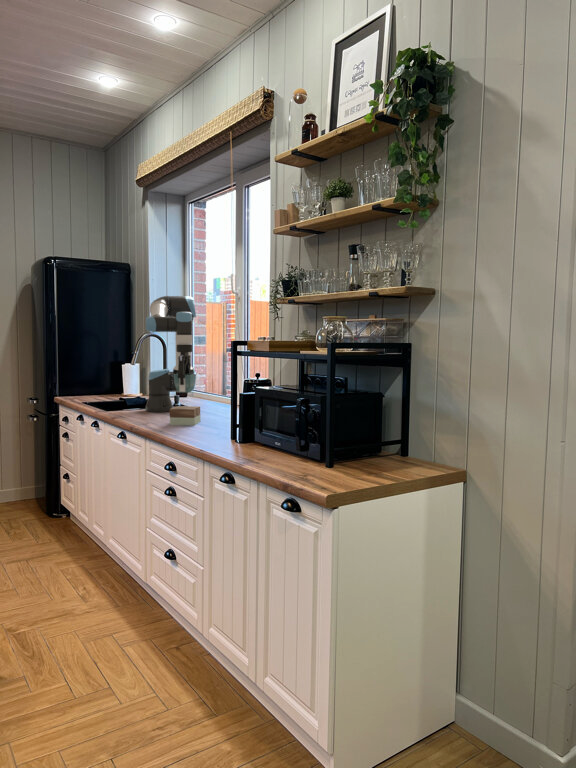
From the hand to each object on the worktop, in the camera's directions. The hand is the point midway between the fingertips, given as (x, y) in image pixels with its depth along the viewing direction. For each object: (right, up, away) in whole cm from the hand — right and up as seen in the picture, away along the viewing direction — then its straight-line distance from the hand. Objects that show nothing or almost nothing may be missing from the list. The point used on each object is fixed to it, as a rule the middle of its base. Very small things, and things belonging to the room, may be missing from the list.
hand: (184, 390), depth 284 cm
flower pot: (0, -1, 0) cm, 1 cm away
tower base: (0, -16, +1) cm, 16 cm away
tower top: (0, -12, +1) cm, 12 cm away
